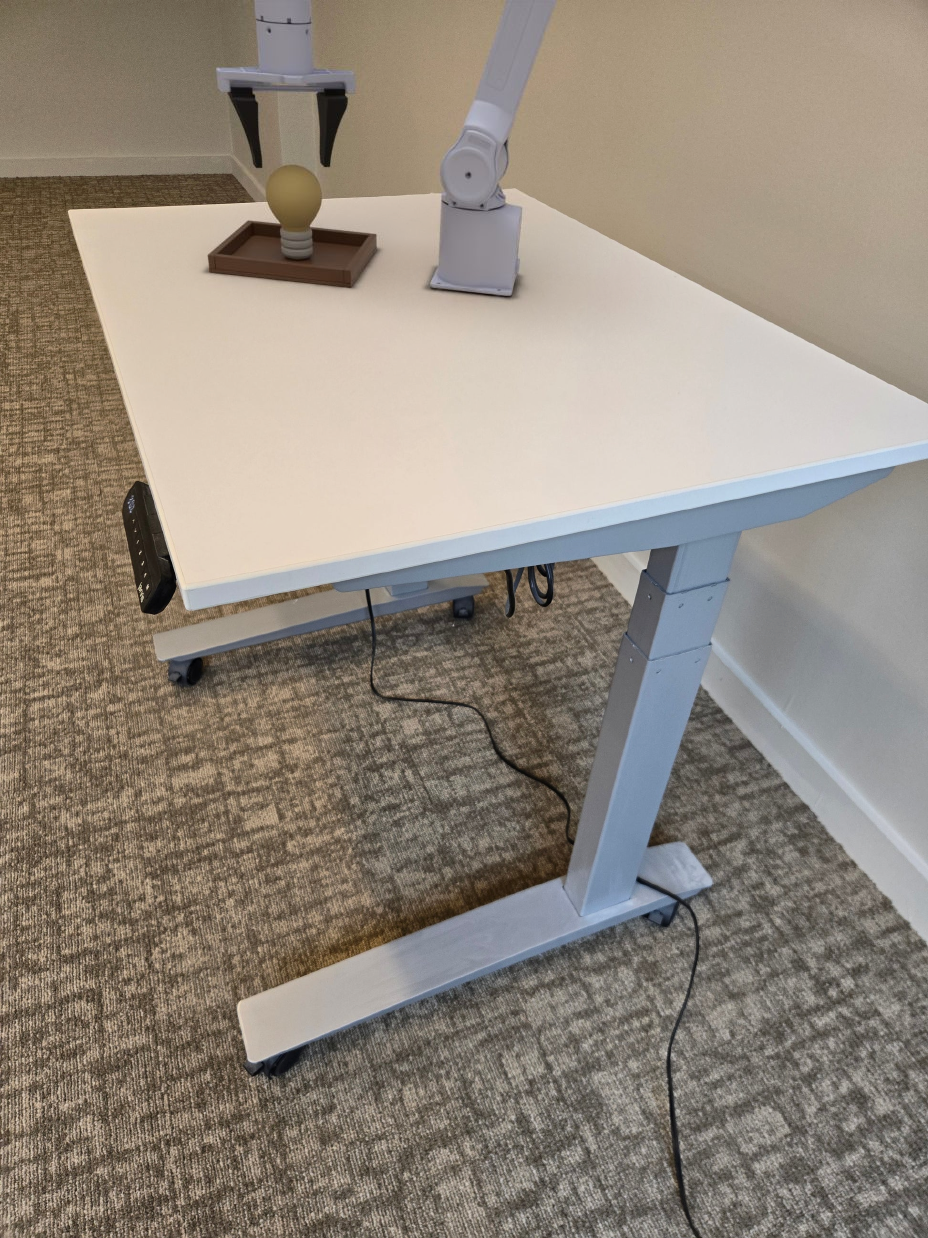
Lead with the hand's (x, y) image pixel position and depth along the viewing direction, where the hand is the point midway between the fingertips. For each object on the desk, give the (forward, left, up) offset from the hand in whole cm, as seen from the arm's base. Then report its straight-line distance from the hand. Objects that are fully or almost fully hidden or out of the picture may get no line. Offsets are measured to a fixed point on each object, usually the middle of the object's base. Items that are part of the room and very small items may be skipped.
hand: (291, 165), depth 98 cm
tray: (0, 0, -10) cm, 10 cm away
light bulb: (0, 0, -10) cm, 10 cm away
